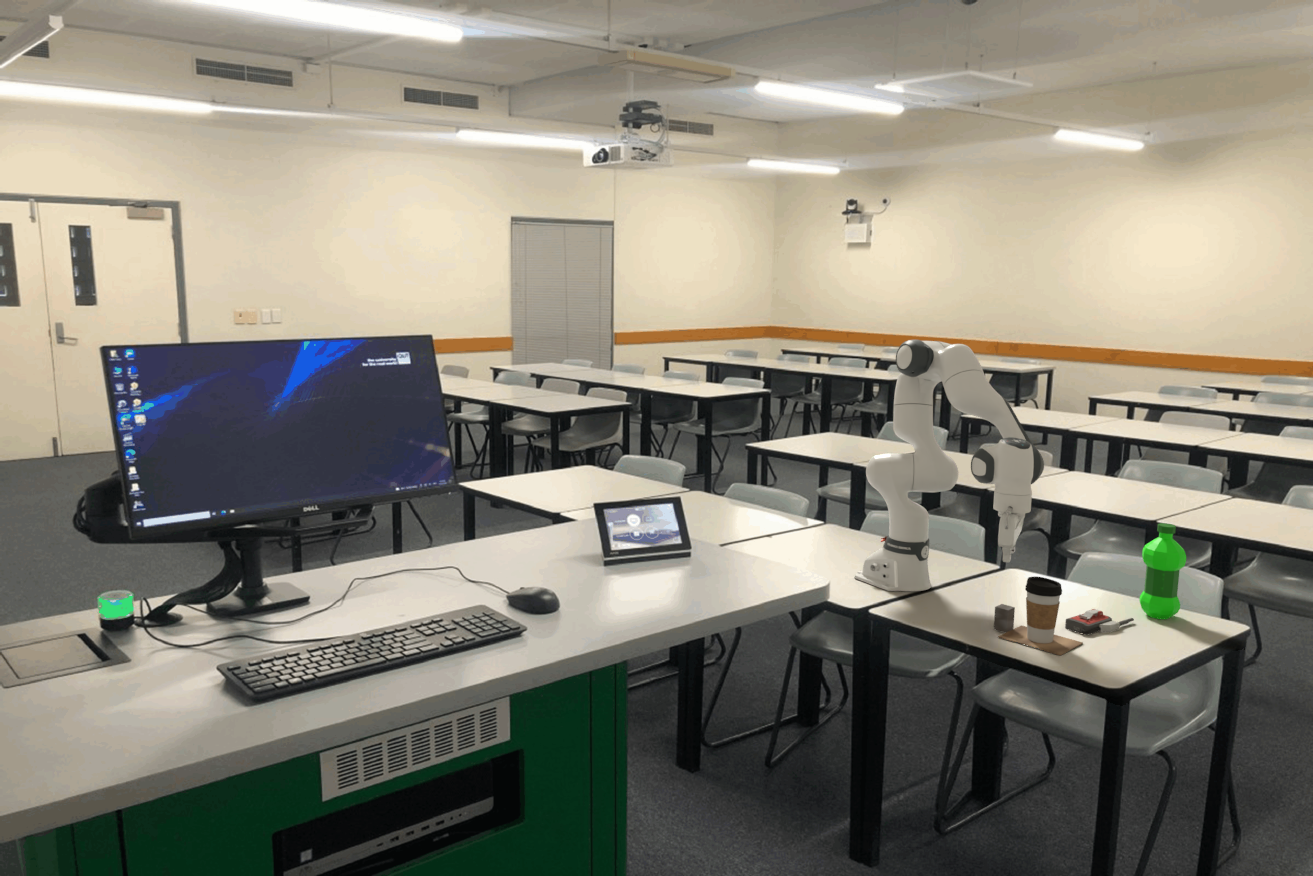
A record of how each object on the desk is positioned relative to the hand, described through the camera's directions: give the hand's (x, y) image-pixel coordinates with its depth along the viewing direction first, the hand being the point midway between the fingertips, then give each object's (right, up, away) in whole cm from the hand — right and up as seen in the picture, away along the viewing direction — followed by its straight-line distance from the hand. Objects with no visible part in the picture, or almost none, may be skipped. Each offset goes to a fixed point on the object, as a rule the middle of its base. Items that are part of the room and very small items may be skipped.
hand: (1008, 557), depth 242 cm
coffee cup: (+6, -20, -4) cm, 21 cm away
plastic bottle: (+46, -18, +15) cm, 51 cm away
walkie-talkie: (+26, -19, +7) cm, 33 cm away
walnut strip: (+5, -20, -3) cm, 21 cm away
